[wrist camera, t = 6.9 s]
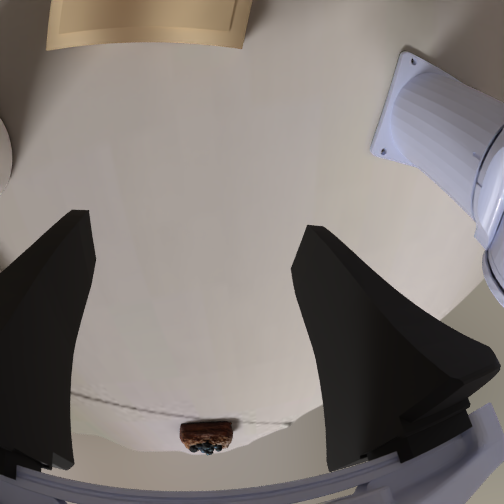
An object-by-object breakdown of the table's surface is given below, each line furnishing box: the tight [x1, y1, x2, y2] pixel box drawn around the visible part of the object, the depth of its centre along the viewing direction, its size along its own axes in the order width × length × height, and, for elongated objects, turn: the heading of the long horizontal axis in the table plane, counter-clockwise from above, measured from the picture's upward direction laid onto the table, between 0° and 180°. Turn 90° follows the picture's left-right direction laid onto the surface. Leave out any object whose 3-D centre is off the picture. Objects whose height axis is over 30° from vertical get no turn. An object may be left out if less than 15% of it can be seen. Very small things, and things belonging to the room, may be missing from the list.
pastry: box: [180, 421, 233, 455], centre depth 52 cm, size 11×12×6 cm
